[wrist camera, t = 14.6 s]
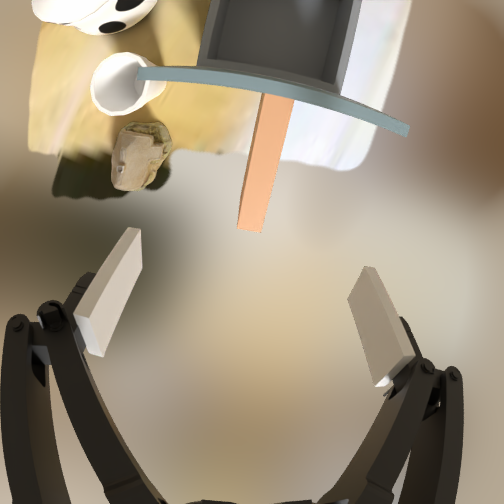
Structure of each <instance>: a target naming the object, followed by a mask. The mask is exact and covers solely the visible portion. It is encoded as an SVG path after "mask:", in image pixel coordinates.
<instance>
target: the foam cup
mask: <svg viewBox="0 0 504 504" xmlns="http://www.w3.org/2000/svg"><path fill="white" fill-rule="evenodd" d="M151 66H157V65H155V64H153V63H152V62H150V61H148V59H147V58H145V57H143V56H141V55H138V54H136V53H131V52H123V53H115V54H113V55H111V56H110V57H108V58H106V59H105V60H103V61H102V62H101V63H100V65H99V66H98V68H97V69H96V70H95V72H94V73H93V77H92V81H91V85H90V90H91V96H92V101H93V102H94V103H95V105H96V106H97V108H98V109H99V110H100V111H102V112H104V113H106V114H108V115H110V116H116V115H126V114H129V113H131V112H133V111H135V110H137V109H139V108H141V107H143V105H144V104H145V103H147V102H148V101H150V100H152V99H153V98H155V97H157V96H158V95H160V94H161V93H162V91H163V90H164V89H165V87H166V84H167V81H153V80H137V73H138V67H151Z"/></svg>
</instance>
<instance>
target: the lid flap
mask: <svg viewBox="0 0 504 504" xmlns="http://www.w3.org/2000/svg"><path fill="white" fill-rule="evenodd" d="M137 80H153V81H175V82H189V83H200V84H209V85H218V86H225V87H232V88H239V89H245V90H251V91H256V92H262V96H261V100H260V105H259V109H258V114H257V119H256V123H255V128H254V133H253V137H252V142H251V147H250V152H249V157H248V162H247V167H246V172H245V176H244V182H243V187H242V192H241V197H240V206H239V214H238V223H237V229H243V230H249V231H255V232H261V230H262V226H263V223H264V219H265V215H266V211H267V207H268V203H269V199H270V195H271V191H272V187H273V183H274V179H275V175H276V172H277V168H278V164H279V160H280V156H281V152H282V148H283V144H284V140H285V136H286V132H287V128H288V124H289V120H290V116H291V112H292V108H293V104H294V100H298V101H302V102H306V103H309V104H313V105H317V106H320V107H324V108H327V109H331V110H334V111H337V112H340V113H343V114H346V115H349V116H352V117H355V118H358V119H361V120H364V121H367V122H369V123H372V124H375V125H377V126H380V127H383V128H385V129H388V130H390V131H393V132H395V133H397V134H400V135H402V136H404V137H407V134H408V131H409V128H410V126H409V125H407V124H405V123H403V122H401V121H399V120H397V119H395V118H393V117H391V116H389V115H386V114H384V113H382V112H380V111H378V110H376V109H373V108H371V107H369V106H366V105H364V104H361V103H359V102H356V101H354V100H351V99H349V98H346V97H343V96H341V95H338V94H335V93H331V92H328V91H325V90H321V89H318V88H314V87H311V86H307V85H303V84H299V83H295V82H291V81H287V80H283V79H278V78H274V77H269V76H264V75H258V74H253V73H247V72H241V71H234V70H227V69H219V68H210V67H200V66H151V67H138V73H137Z"/></svg>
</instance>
